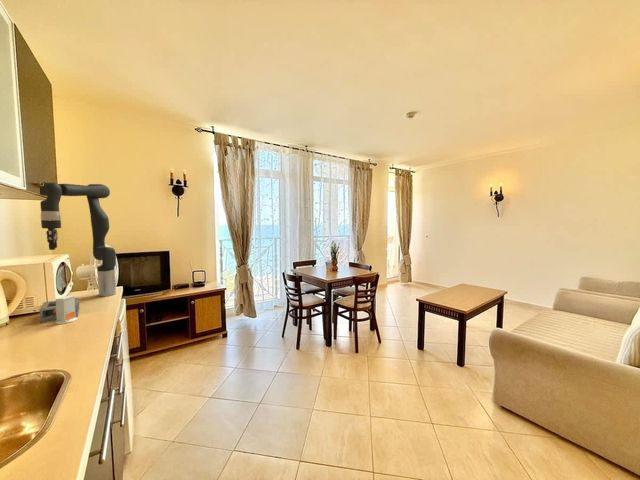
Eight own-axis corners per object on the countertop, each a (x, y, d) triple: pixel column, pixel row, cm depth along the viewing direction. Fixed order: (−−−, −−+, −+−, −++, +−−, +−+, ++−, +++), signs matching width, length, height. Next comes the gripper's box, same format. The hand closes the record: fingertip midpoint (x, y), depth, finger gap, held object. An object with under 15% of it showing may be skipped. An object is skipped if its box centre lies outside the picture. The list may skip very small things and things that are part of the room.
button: (54, 314, 142) (53, 308, 142) (69, 311, 146) (68, 306, 146) (52, 317, 137) (52, 312, 137) (68, 314, 141) (67, 309, 141)
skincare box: (64, 322, 131) (63, 299, 130) (56, 322, 132) (54, 299, 131) (76, 317, 138) (74, 295, 136) (68, 317, 138) (66, 295, 137)
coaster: (56, 320, 135) (56, 319, 135) (77, 316, 140) (77, 315, 140) (54, 325, 129) (54, 324, 129) (76, 321, 134) (76, 320, 134)
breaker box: (44, 314, 142) (43, 302, 142) (79, 309, 151) (78, 297, 151) (40, 322, 132) (39, 309, 131) (77, 316, 141) (76, 303, 140)
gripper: (43, 219, 145) (45, 248, 146) (38, 219, 134) (41, 250, 135) (62, 219, 150) (64, 247, 151) (59, 219, 139) (61, 249, 140)
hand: (53, 248), depth 143 cm, fingers open, 8 cm apart
